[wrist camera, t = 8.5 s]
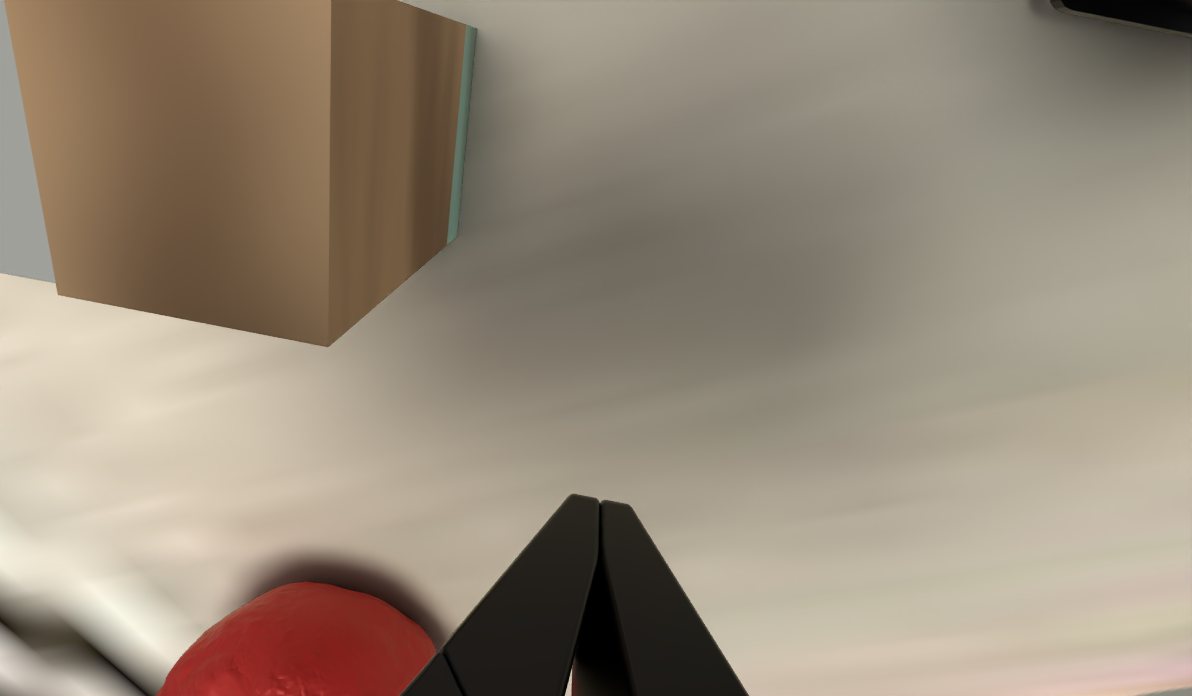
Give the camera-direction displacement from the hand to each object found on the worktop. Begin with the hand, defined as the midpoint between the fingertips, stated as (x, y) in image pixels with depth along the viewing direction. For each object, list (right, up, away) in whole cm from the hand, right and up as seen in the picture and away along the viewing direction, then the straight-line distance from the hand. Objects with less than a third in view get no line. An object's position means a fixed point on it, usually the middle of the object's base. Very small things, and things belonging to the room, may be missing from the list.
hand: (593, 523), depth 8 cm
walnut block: (-6, +9, +10) cm, 15 cm away
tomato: (-11, -10, +19) cm, 24 cm away
